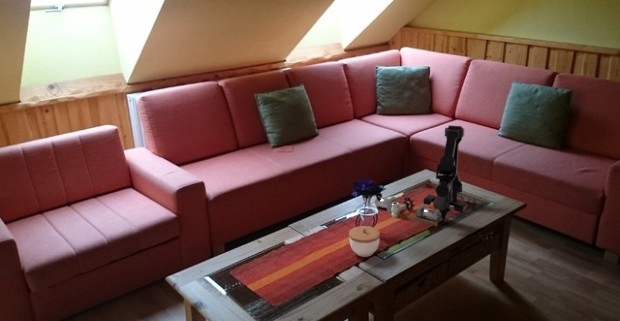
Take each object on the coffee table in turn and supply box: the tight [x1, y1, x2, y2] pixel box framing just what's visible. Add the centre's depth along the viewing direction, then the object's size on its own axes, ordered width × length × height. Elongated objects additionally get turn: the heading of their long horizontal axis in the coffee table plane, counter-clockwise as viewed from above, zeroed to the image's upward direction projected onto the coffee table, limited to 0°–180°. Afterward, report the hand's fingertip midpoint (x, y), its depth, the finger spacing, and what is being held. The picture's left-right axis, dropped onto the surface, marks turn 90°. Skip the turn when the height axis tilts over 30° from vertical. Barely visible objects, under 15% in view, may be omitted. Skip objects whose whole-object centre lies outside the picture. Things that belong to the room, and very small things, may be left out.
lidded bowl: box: [348, 225, 381, 258], centre depth 214 cm, size 13×13×11 cm
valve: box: [390, 197, 415, 219], centre depth 249 cm, size 7×7×12 cm
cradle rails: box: [406, 208, 443, 227], centre depth 243 cm, size 9×15×2 cm, turn 53°
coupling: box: [415, 203, 443, 224], centre depth 241 cm, size 10×6×6 cm, turn 53°
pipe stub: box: [374, 196, 398, 214], centre depth 255 cm, size 9×6×6 cm, turn 53°
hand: (444, 220), depth 237 cm, fingers closed
